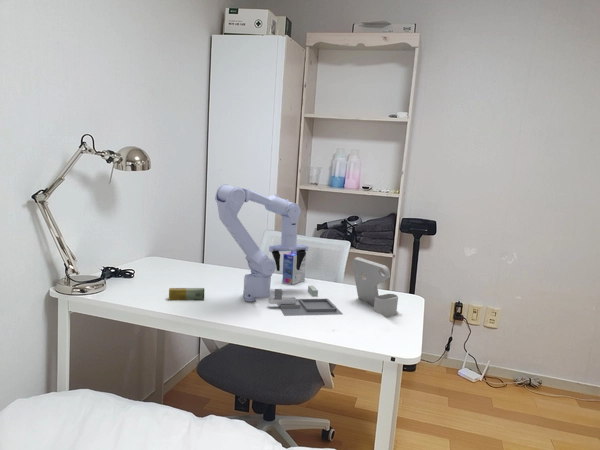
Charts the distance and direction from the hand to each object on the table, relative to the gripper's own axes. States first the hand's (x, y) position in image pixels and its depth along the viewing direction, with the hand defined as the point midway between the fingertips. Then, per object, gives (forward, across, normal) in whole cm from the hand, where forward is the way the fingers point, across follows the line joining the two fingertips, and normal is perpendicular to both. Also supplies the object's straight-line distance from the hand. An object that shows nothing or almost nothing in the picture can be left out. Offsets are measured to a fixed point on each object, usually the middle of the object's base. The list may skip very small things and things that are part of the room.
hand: (288, 269), depth 173 cm
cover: (+10, +8, -5) cm, 14 cm away
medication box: (+8, -37, -5) cm, 38 cm away
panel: (+9, +2, -19) cm, 21 cm away
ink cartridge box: (+10, +6, +16) cm, 20 cm away
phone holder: (+11, +27, -18) cm, 34 cm away
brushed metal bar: (+6, -6, -19) cm, 20 cm away
